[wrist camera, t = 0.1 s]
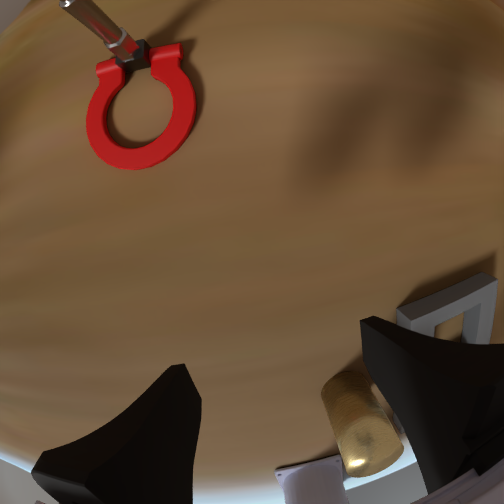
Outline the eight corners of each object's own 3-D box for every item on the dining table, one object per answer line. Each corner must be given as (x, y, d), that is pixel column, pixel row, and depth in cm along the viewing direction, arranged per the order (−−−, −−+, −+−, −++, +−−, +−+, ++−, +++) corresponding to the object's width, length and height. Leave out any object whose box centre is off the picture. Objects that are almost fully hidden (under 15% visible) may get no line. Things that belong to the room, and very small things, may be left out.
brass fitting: (366, 397, 23) (400, 463, 15) (323, 411, 23) (347, 483, 15) (365, 364, 22) (407, 434, 14) (318, 379, 22) (346, 457, 14)
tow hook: (200, 162, 19) (196, 45, 16) (123, 146, 6) (147, -72, 4) (95, 177, 19) (95, 68, 16) (-40, 198, 6) (-13, 11, 4)
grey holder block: (466, 382, 24) (491, 408, 18) (392, 419, 24) (413, 455, 19) (482, 271, 21) (522, 291, 15) (396, 308, 21) (434, 342, 15)
